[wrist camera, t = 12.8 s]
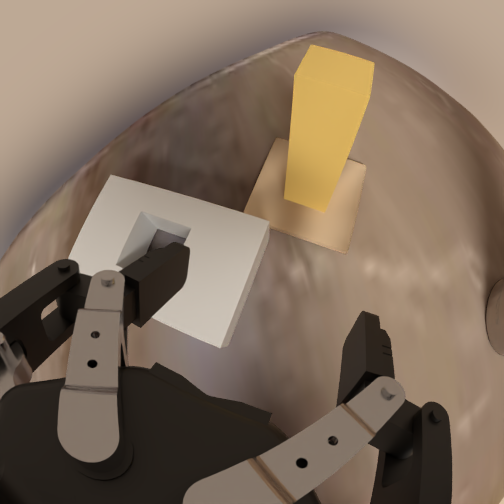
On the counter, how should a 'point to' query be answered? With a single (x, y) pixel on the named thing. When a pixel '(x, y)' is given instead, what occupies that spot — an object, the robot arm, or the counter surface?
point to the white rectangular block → (197, 239)
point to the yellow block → (324, 122)
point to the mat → (302, 217)
